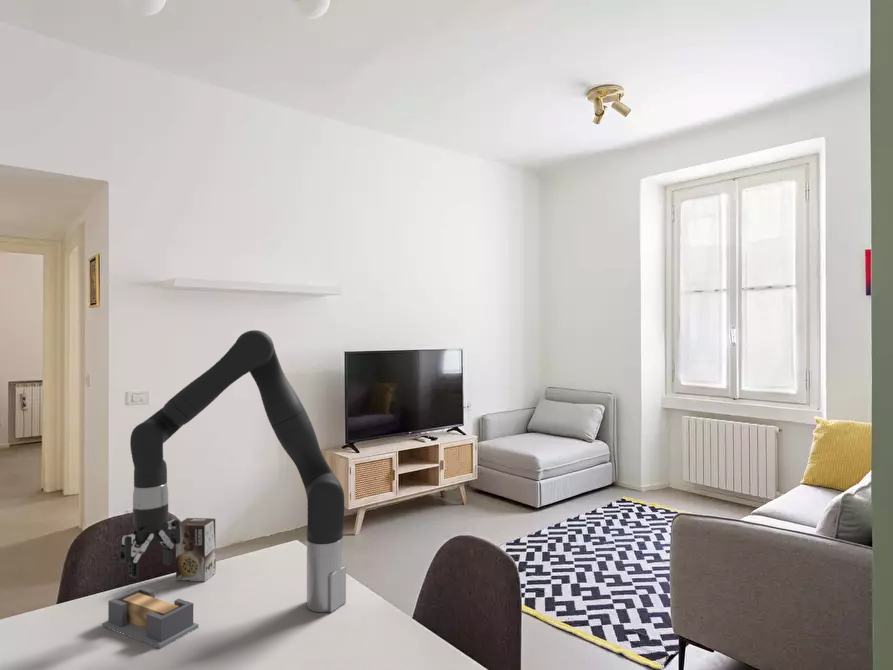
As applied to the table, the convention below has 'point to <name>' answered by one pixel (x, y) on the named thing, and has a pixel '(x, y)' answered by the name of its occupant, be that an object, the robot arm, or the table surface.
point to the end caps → (151, 620)
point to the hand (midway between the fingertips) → (151, 570)
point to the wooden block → (145, 608)
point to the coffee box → (196, 550)
